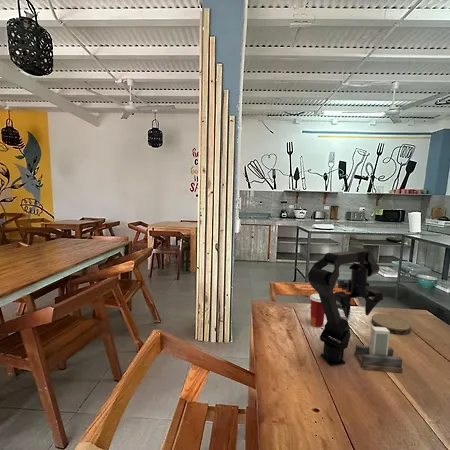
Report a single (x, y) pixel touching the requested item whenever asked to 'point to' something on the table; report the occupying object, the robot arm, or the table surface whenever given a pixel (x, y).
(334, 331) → the robot arm
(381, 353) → the cream slab
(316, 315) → the paper cup
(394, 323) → the brown round disc
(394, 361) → the display ledge
